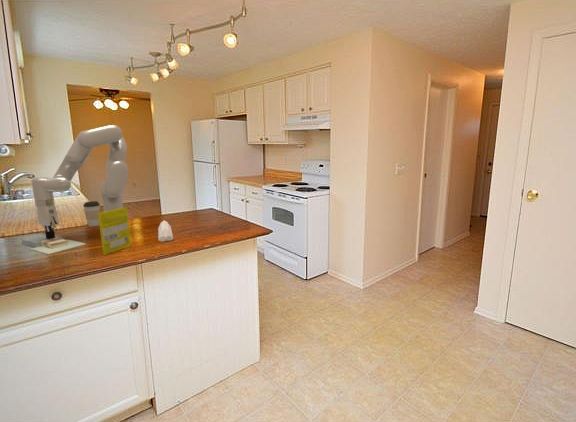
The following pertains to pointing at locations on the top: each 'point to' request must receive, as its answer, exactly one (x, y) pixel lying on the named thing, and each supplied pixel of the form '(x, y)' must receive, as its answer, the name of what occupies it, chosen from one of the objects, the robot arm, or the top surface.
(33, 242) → the block
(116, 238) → the food package
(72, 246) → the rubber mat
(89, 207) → the coffee cup
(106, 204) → the robot arm
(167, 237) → the crystal
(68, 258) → the top surface
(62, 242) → the birch tile
